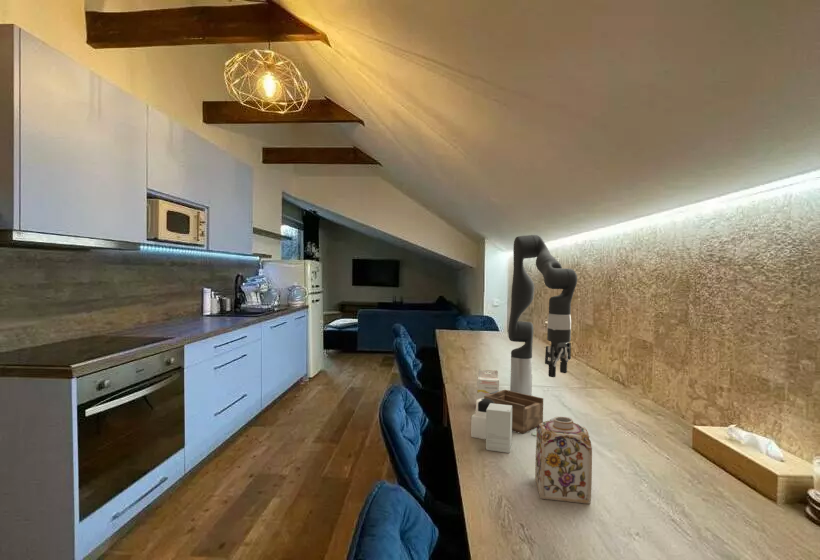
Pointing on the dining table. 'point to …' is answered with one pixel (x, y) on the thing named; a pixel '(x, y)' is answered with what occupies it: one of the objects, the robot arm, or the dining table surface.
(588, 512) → the dining table surface
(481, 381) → the ink cartridge box
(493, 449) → the supplement box
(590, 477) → the decorative jar
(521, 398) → the box
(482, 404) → the medicine bottle
